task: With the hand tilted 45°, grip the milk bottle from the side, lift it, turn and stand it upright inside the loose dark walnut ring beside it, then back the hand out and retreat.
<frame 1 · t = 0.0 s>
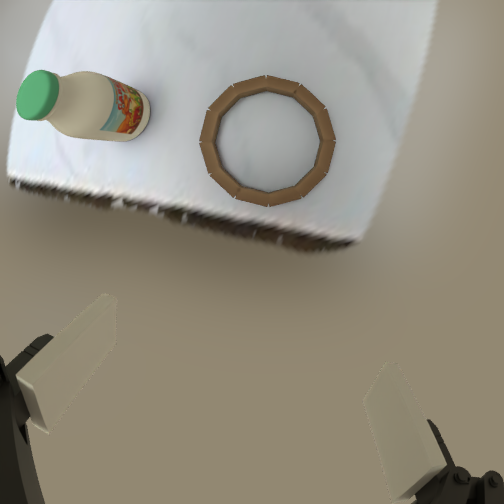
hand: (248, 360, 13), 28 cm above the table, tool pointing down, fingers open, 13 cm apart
milk bottle: (127, 115, 37), on the table
walnut ring: (267, 140, 37), on the table
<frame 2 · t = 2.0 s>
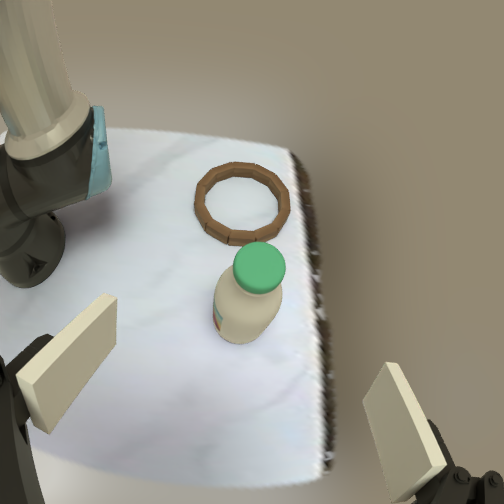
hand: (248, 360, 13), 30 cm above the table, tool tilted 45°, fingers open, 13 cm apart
milk bottle: (239, 319, 44), on the table
walnut ring: (241, 205, 53), on the table
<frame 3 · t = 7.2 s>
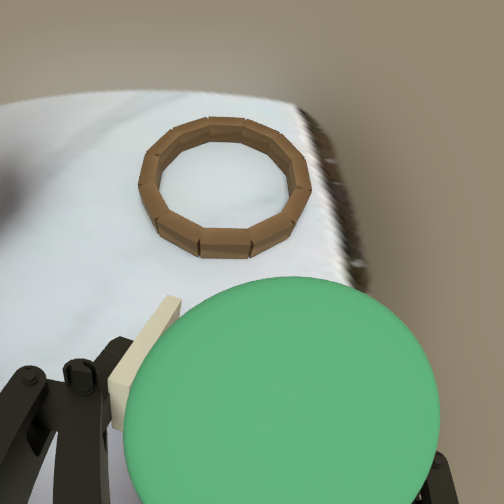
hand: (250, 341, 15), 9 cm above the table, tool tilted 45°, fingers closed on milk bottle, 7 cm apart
milk bottle: (227, 402, 21), on the table, touching gripper
walnut ring: (224, 185, 30), on the table
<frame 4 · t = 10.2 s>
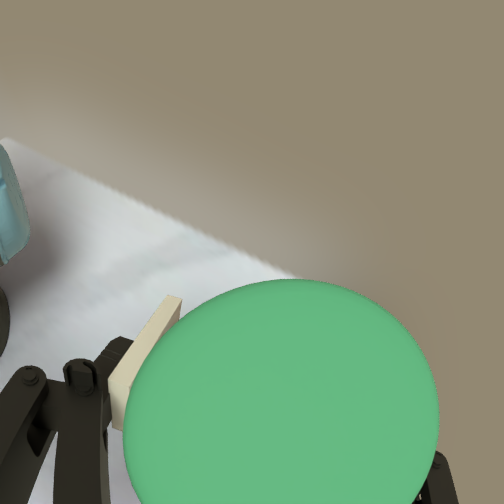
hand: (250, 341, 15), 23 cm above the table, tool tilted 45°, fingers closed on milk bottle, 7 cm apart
milk bottle: (227, 403, 21), point 14 cm above the table, touching gripper
when the fingers open (10 cm above the table, at t = 13.3 s): milk bottle drops 1 cm, resting in walnut ring.
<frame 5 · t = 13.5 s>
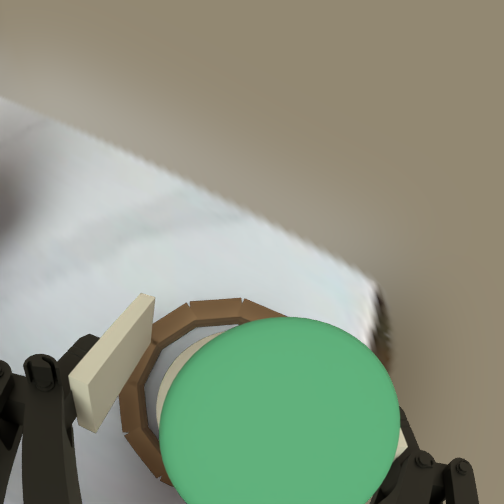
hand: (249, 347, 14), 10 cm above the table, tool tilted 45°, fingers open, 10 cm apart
milk bottle: (228, 403, 22), resting in walnut ring
walnut ring: (225, 402, 22), on the table
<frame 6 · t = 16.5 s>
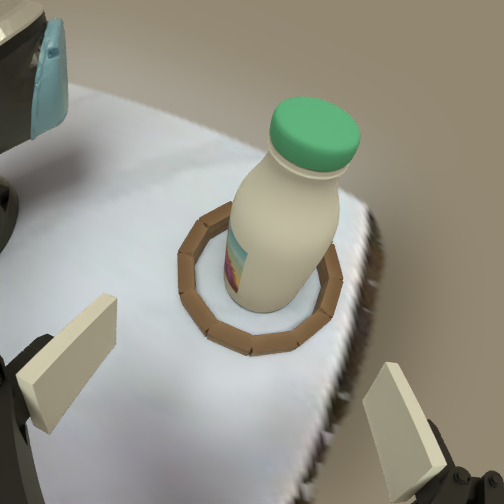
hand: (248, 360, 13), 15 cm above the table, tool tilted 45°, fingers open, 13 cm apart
milk bottle: (260, 279, 31), resting in walnut ring
walnut ring: (258, 277, 31), on the table
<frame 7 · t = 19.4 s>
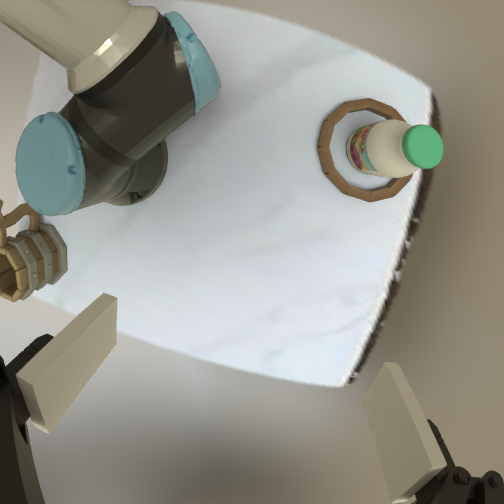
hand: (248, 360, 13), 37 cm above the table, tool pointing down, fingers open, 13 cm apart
milk bottle: (367, 150, 44), resting in walnut ring
tankard: (46, 235, 52), on the table
walnut ring: (366, 149, 44), on the table
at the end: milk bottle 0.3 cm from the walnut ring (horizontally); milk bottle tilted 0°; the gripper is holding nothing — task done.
